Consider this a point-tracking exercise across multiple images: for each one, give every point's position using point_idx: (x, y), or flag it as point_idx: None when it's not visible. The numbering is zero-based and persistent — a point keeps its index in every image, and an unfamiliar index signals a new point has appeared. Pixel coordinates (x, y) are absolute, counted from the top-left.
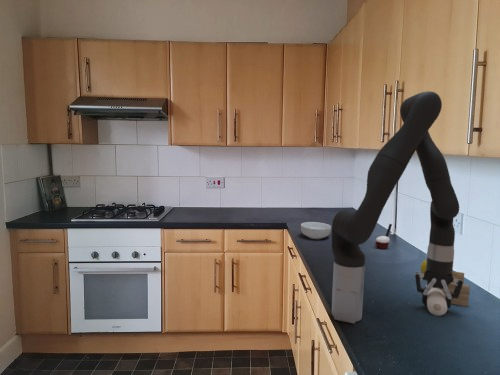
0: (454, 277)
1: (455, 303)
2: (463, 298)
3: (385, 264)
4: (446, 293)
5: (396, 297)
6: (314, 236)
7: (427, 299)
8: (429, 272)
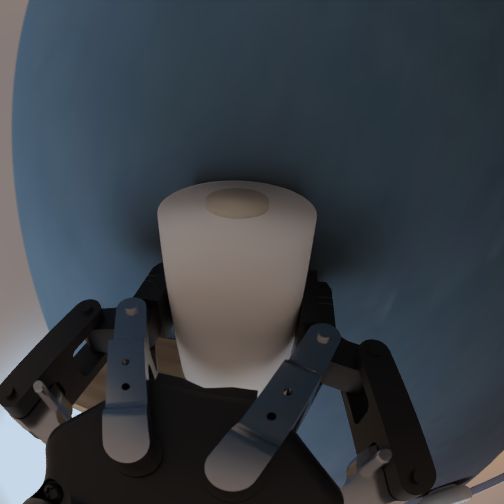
0: None
1: None
2: None
3: None
4: (142, 333)
5: (426, 336)
6: (454, 489)
7: (302, 291)
8: None
